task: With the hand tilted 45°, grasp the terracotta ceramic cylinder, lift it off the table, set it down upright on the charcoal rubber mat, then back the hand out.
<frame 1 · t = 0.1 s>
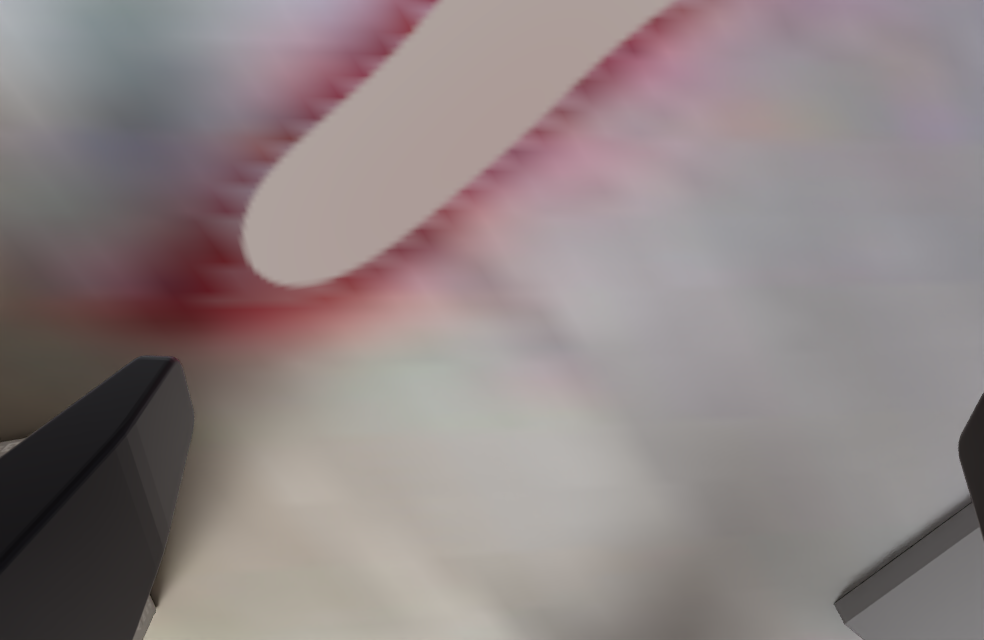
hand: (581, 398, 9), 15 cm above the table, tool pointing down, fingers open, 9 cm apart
skincare box: (51, 534, 30), on the table
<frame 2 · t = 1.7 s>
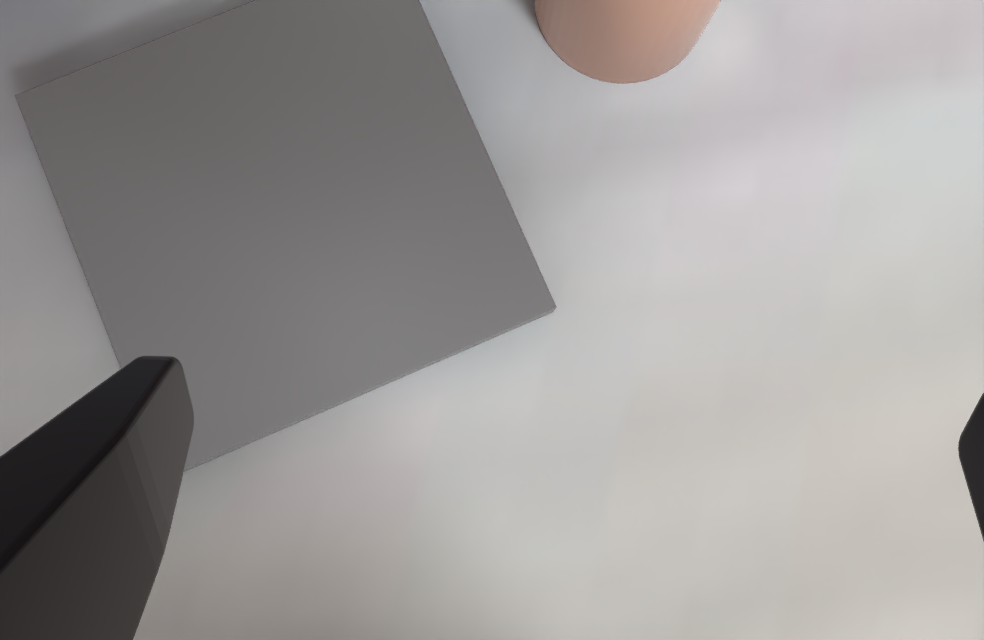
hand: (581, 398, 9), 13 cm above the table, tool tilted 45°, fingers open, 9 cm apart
mat: (291, 209, 23), on the table
terracotta cylinder: (620, 0, 24), on the table
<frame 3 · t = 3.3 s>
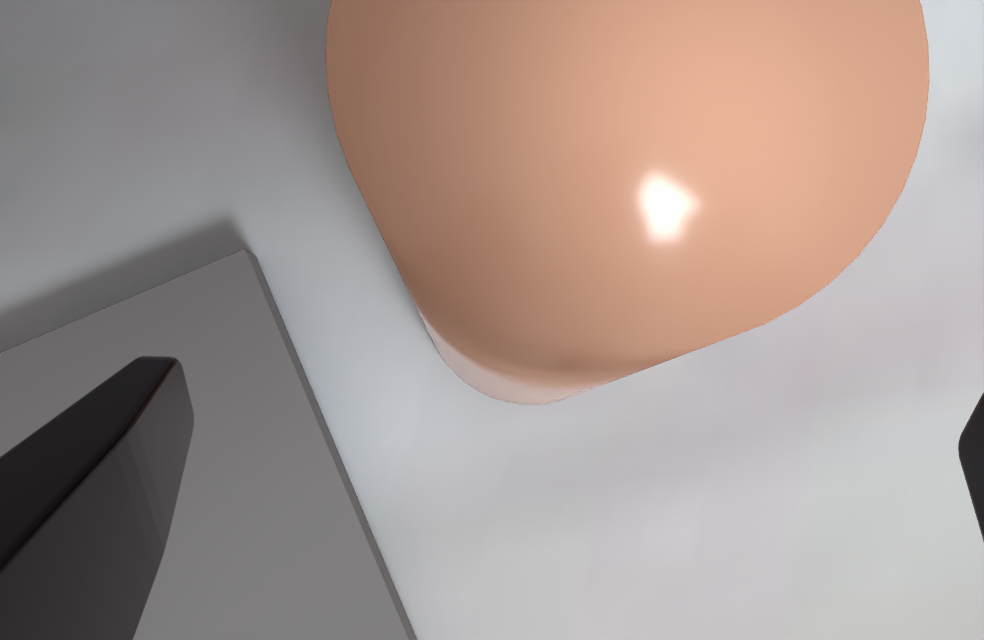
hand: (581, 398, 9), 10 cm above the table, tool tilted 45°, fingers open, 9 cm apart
mat: (120, 576, 19), on the table
terracotta cylinder: (530, 298, 20), on the table
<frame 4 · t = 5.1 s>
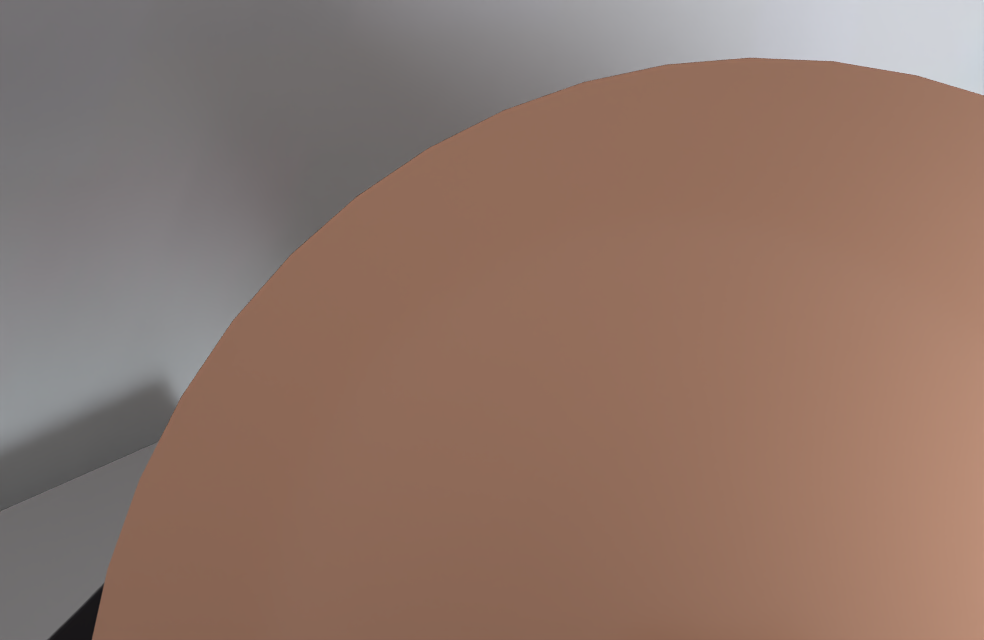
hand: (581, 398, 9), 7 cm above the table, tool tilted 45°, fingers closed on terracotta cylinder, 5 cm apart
terracotta cylinder: (537, 483, 16), on the table, touching gripper
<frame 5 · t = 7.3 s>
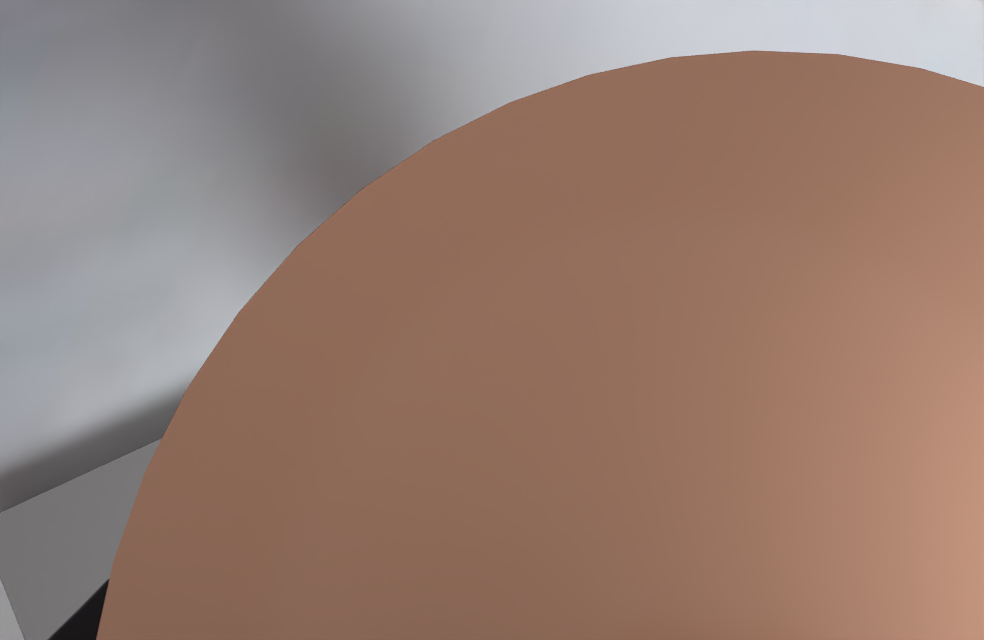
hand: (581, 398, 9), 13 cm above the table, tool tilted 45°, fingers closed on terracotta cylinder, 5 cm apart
mat: (278, 621, 22), on the table
terracotta cylinder: (538, 482, 16), point 7 cm above the table, touching gripper
when the fingers open (8 cm above the table, at t = 9.5 s): terracotta cylinder stays where it is, resting on mat.
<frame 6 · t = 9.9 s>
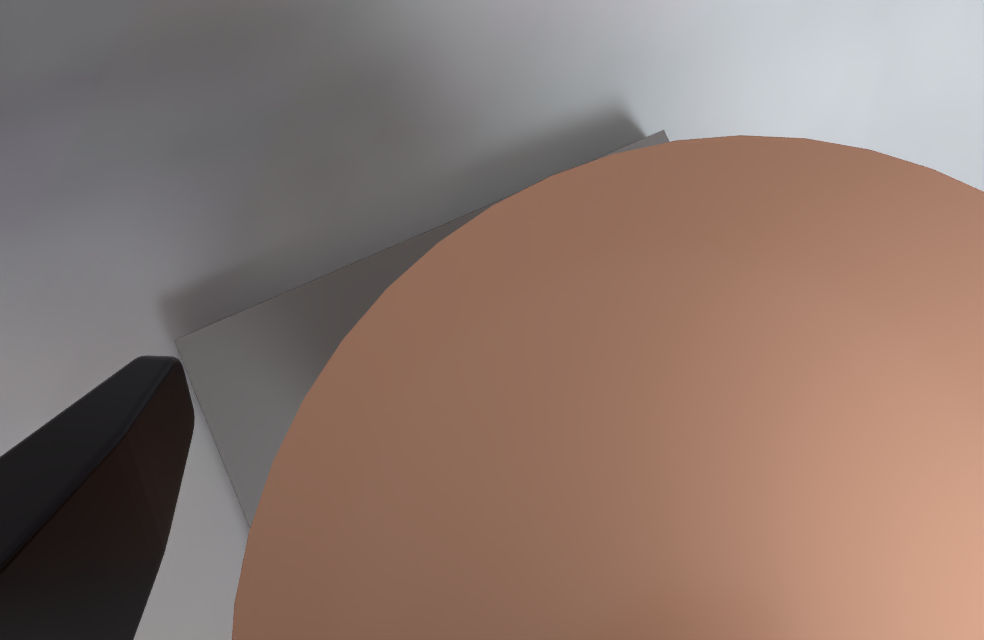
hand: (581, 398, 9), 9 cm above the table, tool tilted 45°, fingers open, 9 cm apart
mat: (530, 476, 18), on the table
terracotta cylinder: (537, 484, 17), point 1 cm above the table, touching mat
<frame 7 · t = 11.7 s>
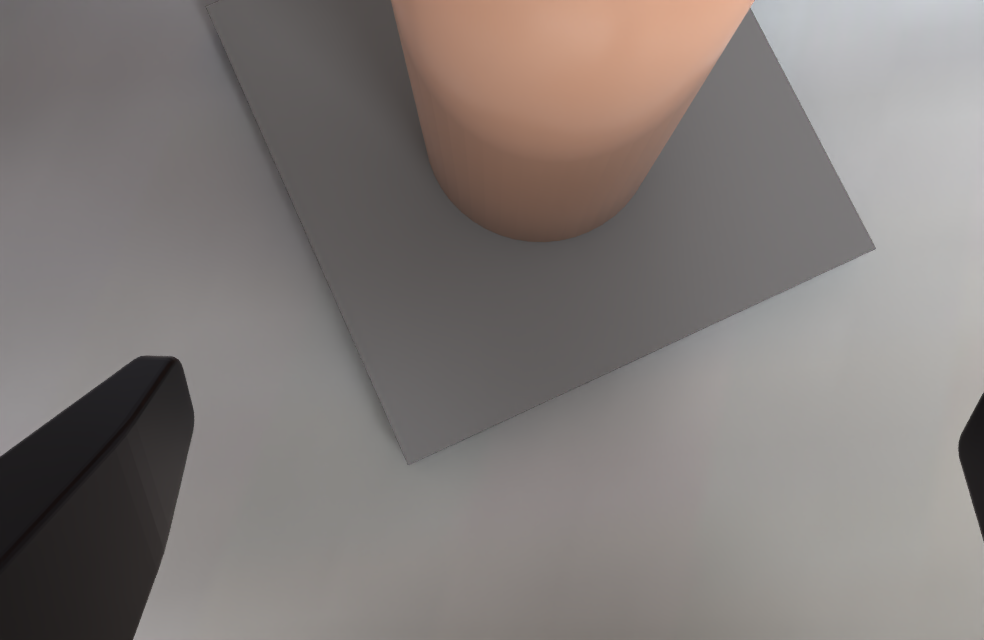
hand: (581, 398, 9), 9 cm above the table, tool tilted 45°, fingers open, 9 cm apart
mat: (533, 141, 19), on the table
terracotta cylinder: (539, 129, 18), point 1 cm above the table, touching mat
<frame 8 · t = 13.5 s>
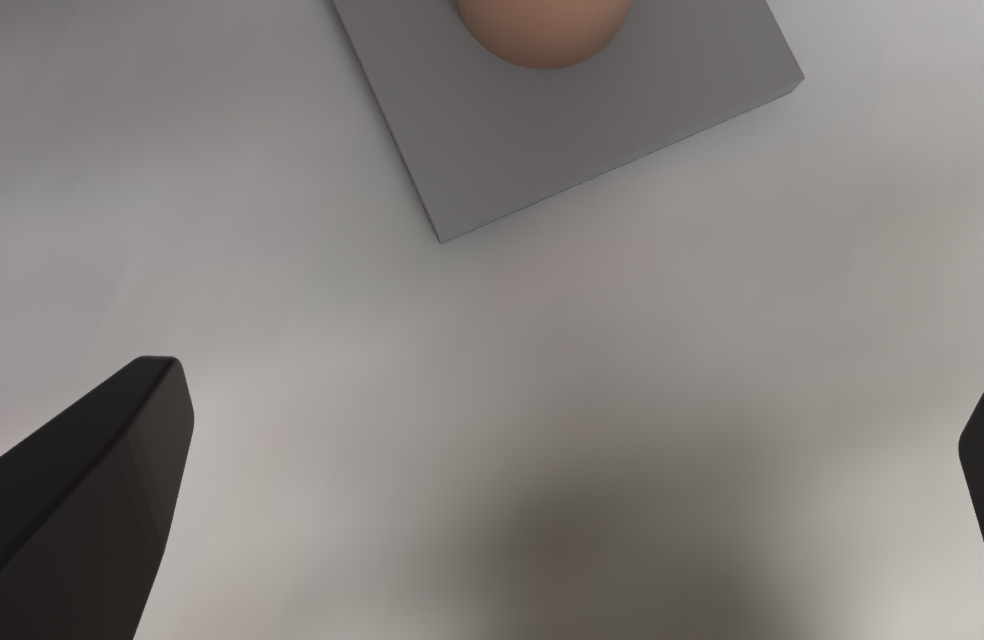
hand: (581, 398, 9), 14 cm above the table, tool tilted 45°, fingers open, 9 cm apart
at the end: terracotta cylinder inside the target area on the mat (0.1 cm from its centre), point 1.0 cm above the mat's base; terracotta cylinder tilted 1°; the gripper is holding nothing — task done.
